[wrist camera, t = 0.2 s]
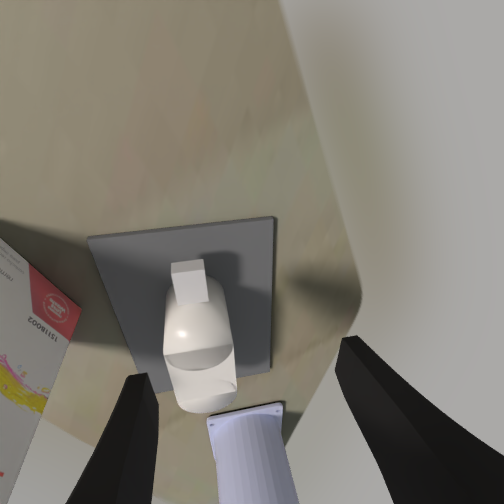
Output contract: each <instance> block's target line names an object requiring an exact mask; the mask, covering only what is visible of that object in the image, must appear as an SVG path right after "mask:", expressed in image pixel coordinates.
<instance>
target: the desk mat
mask: <svg viewBox="0 0 504 504" xmlns="http://www.w3.org/2000/svg"><path fill="white" fill-rule="evenodd" d="M273 222H274V219H273V217H272V216H269V217H260V218H251V219H242V220H233V221H224V222H215V223H206V224H196V225H187V226H178V227H169V228H160V229H151V230H142V231H133V232H124V233H115V234H106V235H97V236H88V238H87V243H88V245H89V248H90V251H91V253H92V256H93V258H94V261H95V263H96V266H97V268H98V271H99V273H100V276H101V279H102V281H103V284H104V286H105V289H106V291H107V294H108V296H109V299H110V301H111V304H112V307H113V309H114V312H115V314H116V317H117V319H118V322H119V324H120V327H121V329H122V332H123V335H124V337H125V340H126V342H127V345H128V347H129V350H130V352H131V355H132V358H133V360H134V363H135V365H136V368H137V370H138V373H139V374H140V373H146V372H147V373H148V376H149V379H150V382H151V384H152V387H153V390H154V393H160V392H166V391H171V390H174V389H173V385H172V382H171V378H170V375H169V372H168V368H167V365H166V362H165V358H164V354H163V345H164V327H165V309H166V294H167V291H168V289H169V287H170V286H171V285H172V284H173V281H172V277H171V263H175V262H183V261H190V260H198V259H203V261H204V268H205V275H206V276H209V277H212V278H214V279H215V280H217V281H218V282H219V283H220V284H221V286H222V287H223V290H224V295H225V301H226V306H227V312H228V317H229V323H230V329H231V334H232V340H233V348H234V360H235V371H236V378H239V377H245V376H250V375H255V374H260V373H266V372H270V342H271V302H272V262H273Z"/></svg>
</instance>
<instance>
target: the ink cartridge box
mask: <svg viewBox="0 0 504 504" xmlns="http://www.w3.org/2000/svg"><path fill="white" fill-rule="evenodd" d="M80 314H81V308H80V307H79V306H77V305H76V304H75V303H74V302H73V301H71V300H70V299H69V298H68V297H67V296H66V295H65V294H63V293H62V292H61V291H60V290H59V289H58V288H56V287H55V286H54V285H53V284H52V283H51V282H50V281H49V280H47V279H46V278H45V277H44V276H43V275H42V274H41V273H39V272H38V271H37V270H36V269H35V268H34V267H33V266H32V265H31V264H29V263H28V262H27V261H26V260H25V259H24V258H23V257H21V256H20V255H19V254H18V253H17V252H16V251H14V250H13V249H12V248H11V247H10V246H9V245H8V244H7V243H5V242H4V241H3V240H2V239H1V238H0V504H7V503H8V500H9V497H10V495H11V493H12V490H13V488H14V485H15V482H16V480H17V477H18V475H19V472H20V469H21V467H22V464H23V462H24V459H25V456H26V454H27V451H28V449H29V446H30V444H31V441H32V438H33V436H34V433H35V431H36V428H37V425H38V423H39V420H40V418H41V415H42V413H43V410H44V407H45V405H46V402H47V400H48V397H49V395H50V392H51V389H52V387H53V384H54V382H55V379H56V377H57V374H58V371H59V369H60V366H61V364H62V361H63V358H64V356H65V353H66V350H67V348H68V345H69V343H70V340H71V337H72V335H73V332H74V329H75V327H76V325H77V321H78V319H79V316H80Z"/></svg>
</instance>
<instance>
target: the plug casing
mask: <svg viewBox="0 0 504 504" xmlns="http://www.w3.org/2000/svg"><path fill="white" fill-rule="evenodd" d="M171 277H172V281H173V284H172V285H171V286H170V287H169V289H168V291H167V294H166V309H165V327H164V345H163V354H164V358H165V362H166V365H167V368H168V372H169V375H170V378H171V382H172V385H173V389H174V392H175V395H176V399H177V402H178V405H179V406H180V407H181V408H182V409H184V410H186V411H188V412H192V413H208V412H213V411H217V410H219V409H222V408H224V407H226V406H227V405H229V404H230V403H231V402H232V401H233V400H234V399H235V397H236V395H237V383H236V371H235V360H234V348H233V340H232V334H231V329H230V323H229V317H228V312H227V306H226V301H225V295H224V290H223V287H222V286H221V284H220V283H219V282H218V281H217V280H215V279H214V278H212V277H209V276H206V275H205V268H204V261H203V259H198V260H190V261H183V262H175V263H171Z"/></svg>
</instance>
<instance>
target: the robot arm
mask: <svg viewBox="0 0 504 504" xmlns="http://www.w3.org/2000/svg"><path fill="white" fill-rule="evenodd" d="M335 373H336V376H337V379H338V381H339V384H340V387H341V390H342V392H343V395H344V397H345V399H346V401H347V403H348V406H349V408H350V409H351V412H352V413H353V416H354V418H355V420H356V422H357V424H358V426H359V428H360V430H361V432H362V434H363V436H364V438H365V440H366V442H367V443H368V446H369V448H370V449H371V452H372V453H373V456H374V458H375V459H376V462H377V464H378V466H379V468H380V471H381V473H382V475H383V478H384V480H385V483H386V485H387V488H388V490H389V493H390V495H391V498H392V500H393V503H394V504H504V456H503V455H502V454H500V453H499V452H497V451H496V450H494V449H493V448H491V447H490V446H488V445H487V444H485V443H484V442H482V441H481V440H480V439H478V438H477V437H475V436H474V435H473V434H471V433H470V432H468V431H467V430H466V429H464V428H463V427H462V426H460V425H459V424H458V423H456V422H455V421H454V420H452V419H451V418H450V417H448V416H447V415H446V414H445V413H443V412H442V411H441V410H439V409H438V408H437V407H436V406H435V405H433V404H432V403H431V402H430V401H429V400H427V399H426V398H425V397H424V396H422V395H421V394H420V393H419V392H418V391H417V390H415V389H414V388H413V387H412V386H411V385H409V383H408V382H406V381H405V380H404V379H403V378H402V377H401V376H400V375H399V374H397V373H396V372H395V371H394V370H393V369H392V368H391V367H390V366H389V365H388V364H387V363H386V362H385V361H383V360H382V359H381V358H380V357H379V356H378V355H377V354H376V353H375V352H374V351H373V350H372V349H371V348H370V347H369V346H367V344H366V343H365V342H364V341H363V340H362V339H361V338H360V337H358V336H357V335H356V336H350V337H345V338H342V341H341V345H340V349H339V354H338V359H337V363H336V367H335ZM282 414H283V405H282V403H280V402H279V403H273V404H268V405H264V406H259V407H254V408H249V409H244V410H239V411H235V412H230V413H225V414H220V415H215V416H211V417H208V418H207V426H208V431H209V436H210V441H211V445H212V450H213V455H214V459H215V460H216V469H217V480H218V492H219V504H299V501H298V497H297V493H296V489H295V485H294V481H293V478H292V474H291V470H290V466H289V462H288V459H287V455H286V451H285V447H284V443H283V439H282V435H281V427H282ZM158 427H159V404H158V401H157V399H156V396H155V393H154V390H153V387H152V384H151V382H150V379H149V376H148V373H147V372H146V373H140V374H135V375H129V376H128V377H127V378H126V380H125V383H124V386H123V388H122V391H121V393H120V396H119V398H118V401H117V403H116V405H115V408H114V410H113V412H112V414H111V417H110V419H109V421H108V423H107V425H106V427H105V429H104V431H103V434H102V436H101V438H100V440H99V442H98V444H97V446H96V448H95V450H94V452H93V454H92V456H91V458H90V460H89V462H88V463H87V465H86V467H85V469H84V471H83V473H82V475H81V477H80V479H79V480H78V482H77V484H76V486H75V488H74V490H73V491H72V493H71V495H70V497H69V498H68V500H67V502H66V504H151V500H152V491H153V482H154V473H155V464H156V454H157V445H158Z"/></svg>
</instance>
